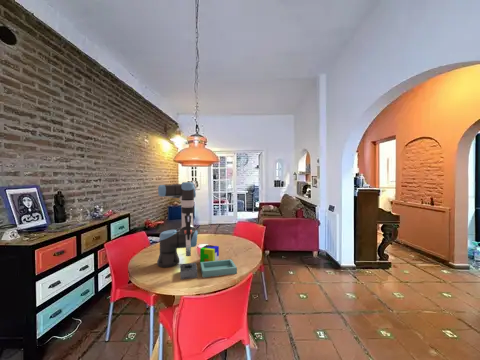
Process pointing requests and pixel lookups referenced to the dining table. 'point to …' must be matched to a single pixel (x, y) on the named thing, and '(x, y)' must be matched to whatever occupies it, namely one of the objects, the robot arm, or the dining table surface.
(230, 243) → the dining table surface
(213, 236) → the dining table surface
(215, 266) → the tray
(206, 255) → the puzzle toy
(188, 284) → the dining table surface
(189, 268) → the block
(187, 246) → the pin
